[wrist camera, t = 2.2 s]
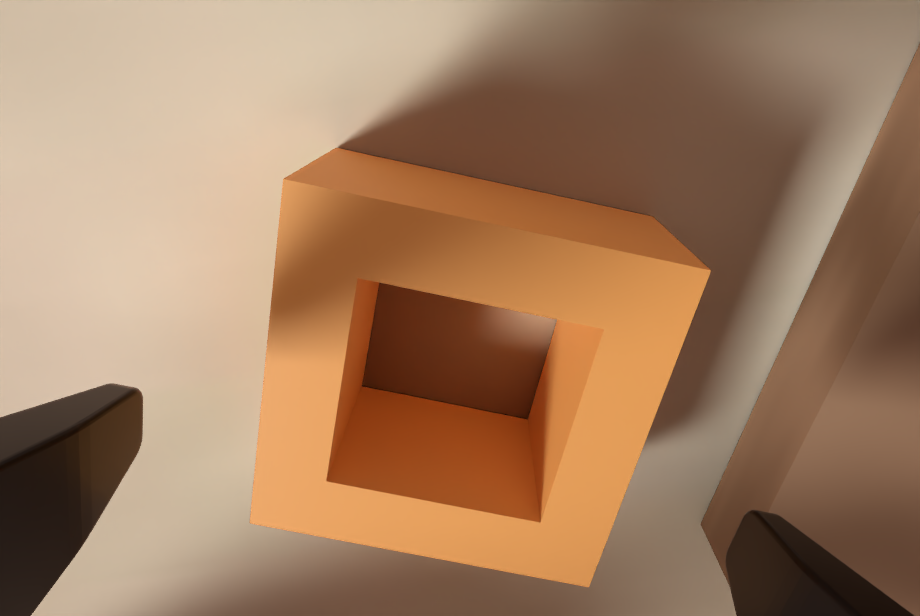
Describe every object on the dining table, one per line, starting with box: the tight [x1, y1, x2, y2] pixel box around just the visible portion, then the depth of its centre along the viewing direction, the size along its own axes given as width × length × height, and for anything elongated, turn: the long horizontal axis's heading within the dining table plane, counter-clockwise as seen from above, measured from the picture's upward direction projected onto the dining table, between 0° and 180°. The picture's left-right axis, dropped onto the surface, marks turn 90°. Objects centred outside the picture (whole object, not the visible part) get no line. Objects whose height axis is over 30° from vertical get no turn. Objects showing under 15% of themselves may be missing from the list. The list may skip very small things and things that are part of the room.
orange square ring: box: [250, 148, 711, 587], centre depth 12 cm, size 7×7×4 cm
